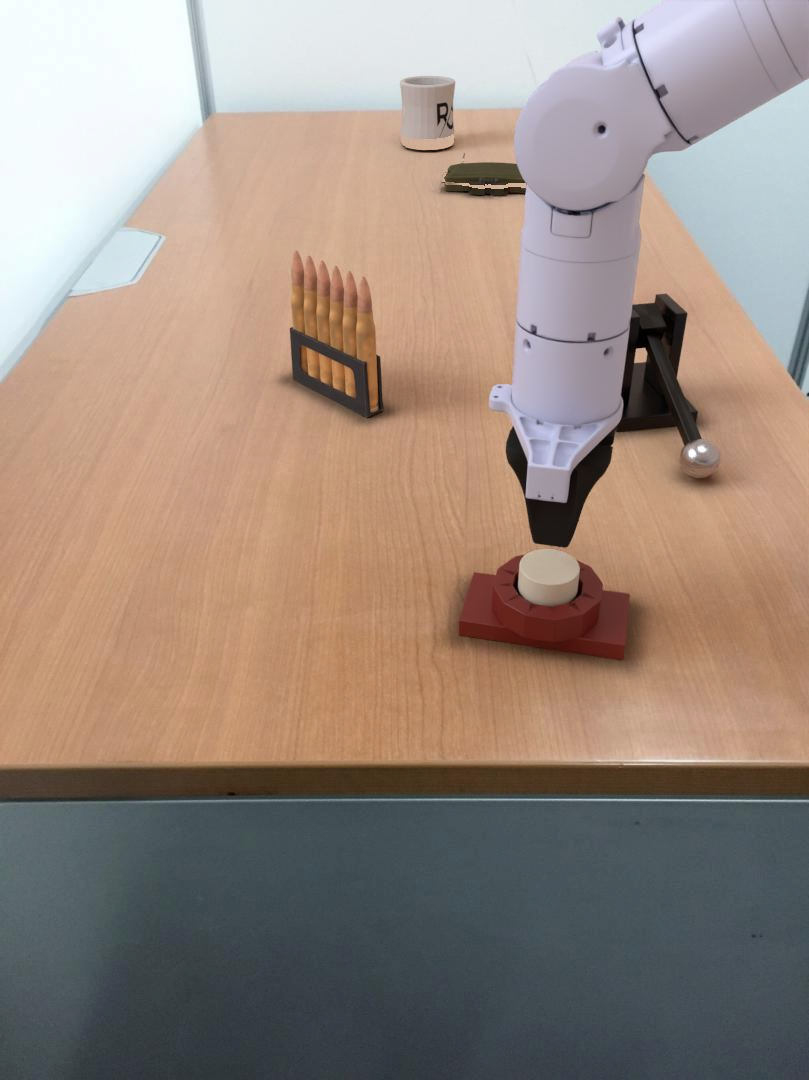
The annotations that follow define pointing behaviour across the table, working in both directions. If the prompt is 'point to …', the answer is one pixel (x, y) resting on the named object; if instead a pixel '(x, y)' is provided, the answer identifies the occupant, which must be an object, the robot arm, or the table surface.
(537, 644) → the block
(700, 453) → the lever
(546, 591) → the button
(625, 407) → the black pivot stand
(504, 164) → the landmine
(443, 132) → the mug
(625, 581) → the table surface
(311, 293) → the ammunition clip
